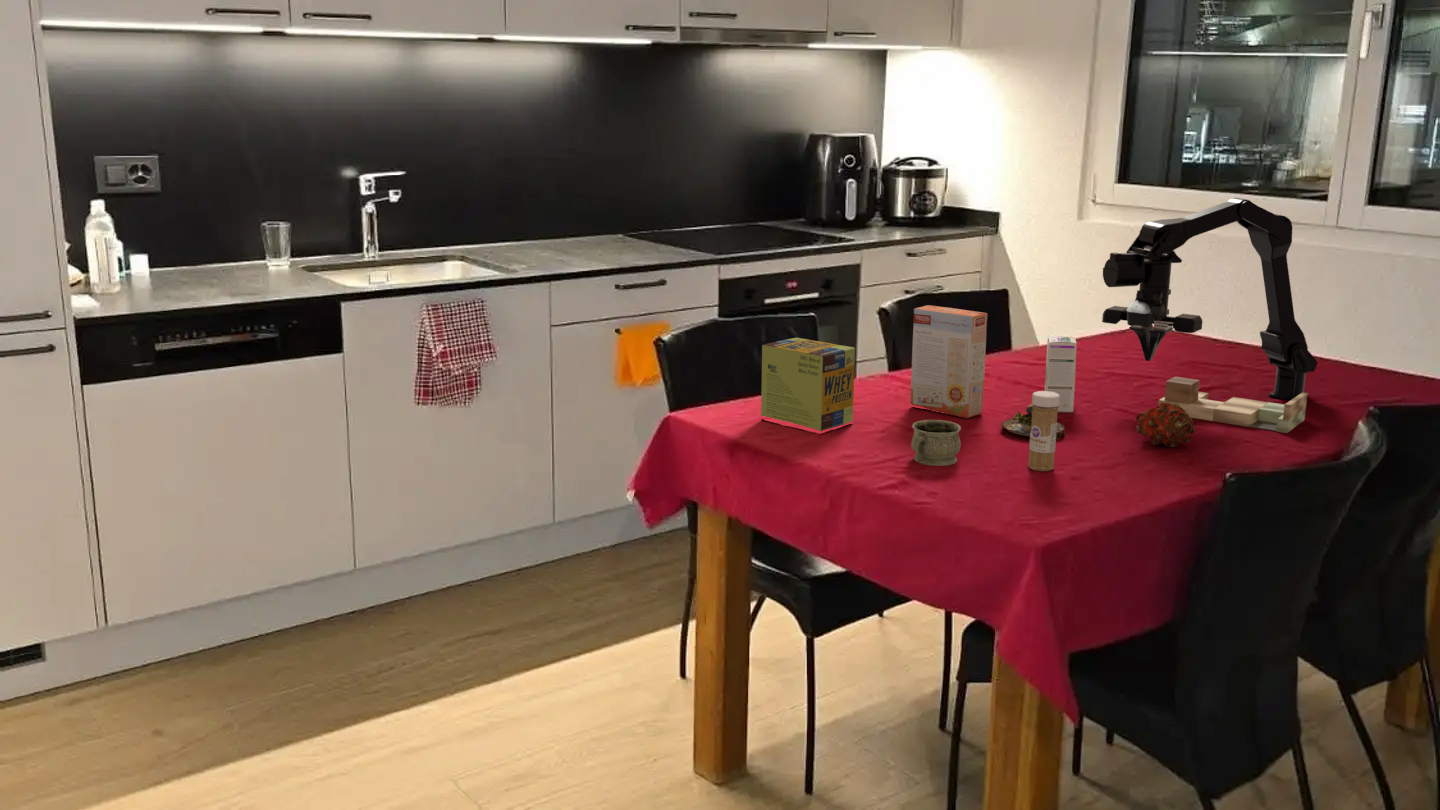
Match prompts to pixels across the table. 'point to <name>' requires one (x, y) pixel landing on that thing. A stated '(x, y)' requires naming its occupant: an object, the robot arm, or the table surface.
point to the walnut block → (1182, 390)
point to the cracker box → (948, 360)
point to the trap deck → (1248, 412)
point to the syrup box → (1061, 370)
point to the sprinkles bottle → (1043, 430)
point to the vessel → (936, 442)
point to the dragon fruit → (1166, 425)
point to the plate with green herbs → (1026, 424)
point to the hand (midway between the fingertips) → (1148, 360)
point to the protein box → (808, 383)
